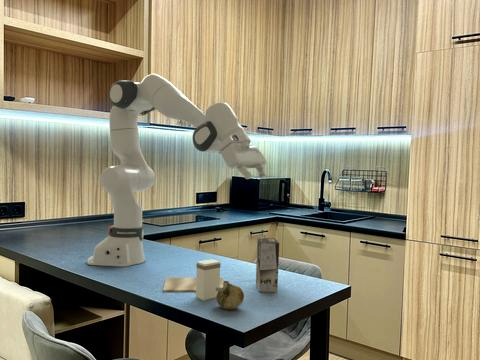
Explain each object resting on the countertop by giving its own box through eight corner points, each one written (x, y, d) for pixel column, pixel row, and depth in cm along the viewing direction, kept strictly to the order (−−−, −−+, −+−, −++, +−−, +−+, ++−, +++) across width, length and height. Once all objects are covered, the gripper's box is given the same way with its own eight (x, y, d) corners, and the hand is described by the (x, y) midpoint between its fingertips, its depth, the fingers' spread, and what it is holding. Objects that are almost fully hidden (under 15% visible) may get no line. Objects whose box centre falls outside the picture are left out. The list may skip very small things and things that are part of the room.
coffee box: (278, 292, 139) (279, 243, 139) (258, 292, 139) (260, 242, 138) (273, 283, 149) (275, 237, 148) (255, 283, 148) (256, 237, 147)
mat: (162, 291, 136) (162, 289, 136) (165, 279, 150) (165, 277, 150) (225, 291, 138) (225, 289, 138) (222, 279, 152) (222, 277, 152)
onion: (241, 313, 119) (241, 285, 118) (212, 311, 120) (213, 283, 120) (245, 304, 126) (246, 278, 126) (218, 302, 128) (219, 276, 127)
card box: (195, 296, 132) (196, 261, 132) (211, 293, 136) (212, 259, 136) (203, 300, 129) (204, 264, 128) (219, 296, 133) (220, 261, 133)
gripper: (246, 149, 155) (264, 181, 151) (213, 147, 138) (233, 184, 134) (259, 139, 152) (278, 172, 148) (227, 136, 135) (247, 173, 131)
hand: (256, 177), depth 141 cm, fingers open, 8 cm apart
